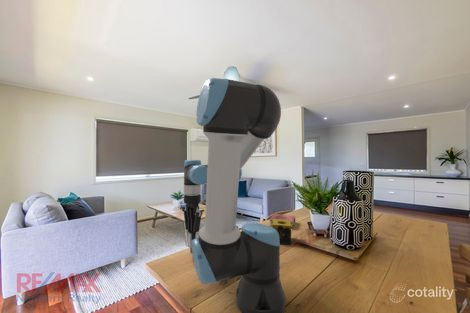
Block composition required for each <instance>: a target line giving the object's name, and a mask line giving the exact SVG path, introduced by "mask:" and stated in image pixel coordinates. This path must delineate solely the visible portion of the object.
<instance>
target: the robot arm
mask: <svg viewBox="0 0 470 313" xmlns="http://www.w3.org/2000/svg"><path fill="white" fill-rule="evenodd" d="M281 115H282V108H281V103H280V100H279V97H278V96H277V94H276V93H275V92H274V91H273V90H272V89H271V88H269V87H267V86H265V85H262V84H255V83H249V82H246V81H245V82H244V81H239V80H234V79H229V78H216V77H212V78H209V79H207V80H205V82H204V84H203V85H202V88H201V90H200V93H199V96H198V101H197V105H196V122H197V125H199V126H200V127H202V128H203V129H202V133H203V134H204V136H205V137H206V138H207V139H208V149H207V150H208V151H207V164H202V162H201V159H186V160H184V165H183V194H184V195H183V203H184V204H185V206H184V207H182V211H183V217H184V219H183V220H184V226H185V230H187V232H188V234H187V235H188V237H187V238H188V243H187V245H188V248H189V249H190V248H192V253H191V254H192V258H193V263H194V268H195V272H196V276H197V279H198V280H199V282H200V283H201V284H203V285H209V284H217V283H218V282H221V281H225V280H228V279H234V278H237V277H240V279H239V282H238V286H237V290H236V294H235V300H236V302H235V303H236V306H237V308H238V310H239V311H240V312H241V313H284V312H285V309H286V295H285V294H286V293H285V292H284V288H283V284H282V282H281V277H280V268H281V267H280V255H281V254H280V253H281V252H280V248H281V247H280V246H281V244H280V240H279V233H278V232H277V230H275V229H274V228H272V227H270V225H266V224H262V223H257V222H256V223H255V222H249V223H244V224H243V225H241V228H239V227H238V228H237V227H236V226H237V225H236V224H237V213H238V212H237V210H238V197H239V196H238V195H239V183H240V182H239V181H240V180H241V179H242V176H243V175H242V174H243V170H242V168H243V167H244V166H245V165H246V163H247V162H248V161H249V160H250V158H251V157H252V156H253V154H254V153H255V152H256V151H257V149H258V148H259V147H260V145H262V142H263V141H264V140H267V139H269V138H270V137H272V135H273V134H274V133H275V131H276V129H278V127H279V126H278V125H279V124H280V121H281V117H282V116H281ZM205 184H206V190H205V192H206V194H205V211H204V213H205V214H204V216H205V217H204V225H203V226H201V221H202V220H201V219H202V217H203V211H201V210H200V205H199V204H200V203H201V202H202V196H201V193H202V190H201V189H202V187H201V186H202V185H205ZM200 227H201V228H200ZM196 233H198V237H196V235H197V234H196Z"/></svg>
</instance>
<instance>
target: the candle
mask: <svg viewBox="0 0 470 313" xmlns="http://www.w3.org/2000/svg"><path fill="white" fill-rule="evenodd" d="M272 228H274V229H275V230H277V232H278V233H279V240H280V245H289V246H290V245H292V230H291V222H290V220H281V219H273V225H272Z"/></svg>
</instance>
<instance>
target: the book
mask: <svg viewBox="0 0 470 313" xmlns="http://www.w3.org/2000/svg"><path fill="white" fill-rule="evenodd" d="M273 219H281V220H290V222H291V229H292V230H293V229H294V227H295V225H294V224H296V216H295V215H287V214H280V213H279V214H277V213H274V214H273V215H272V216H271V217H270V218H269V221H270V224H269V226H270V227H272V225H273Z"/></svg>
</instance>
